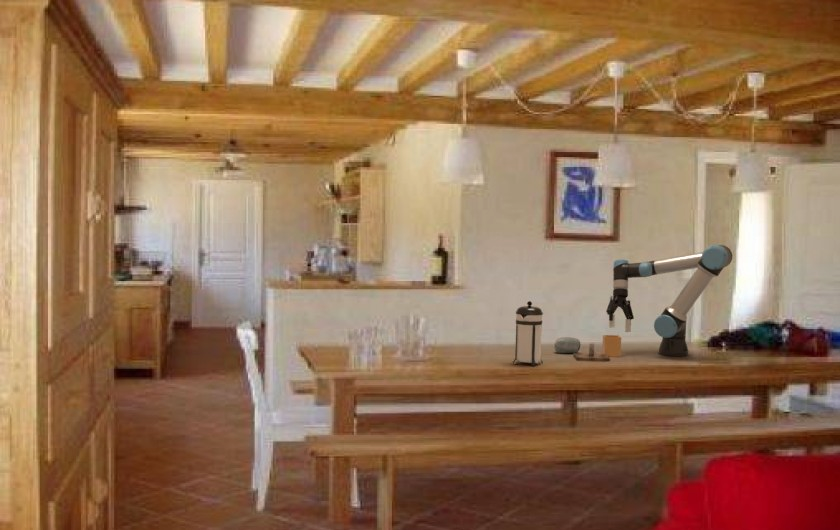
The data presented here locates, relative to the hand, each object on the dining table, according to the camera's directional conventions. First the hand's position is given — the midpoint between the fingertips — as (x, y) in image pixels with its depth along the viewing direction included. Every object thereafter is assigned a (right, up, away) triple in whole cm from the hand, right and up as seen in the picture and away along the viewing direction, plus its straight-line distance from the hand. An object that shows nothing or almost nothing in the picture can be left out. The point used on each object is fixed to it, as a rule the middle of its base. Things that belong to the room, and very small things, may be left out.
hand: (620, 329), depth 461 cm
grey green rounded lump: (-26, -13, +4) cm, 30 cm away
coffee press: (-51, -14, -32) cm, 62 cm away
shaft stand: (-17, -14, -13) cm, 26 cm away
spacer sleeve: (-5, -13, -1) cm, 14 cm away
